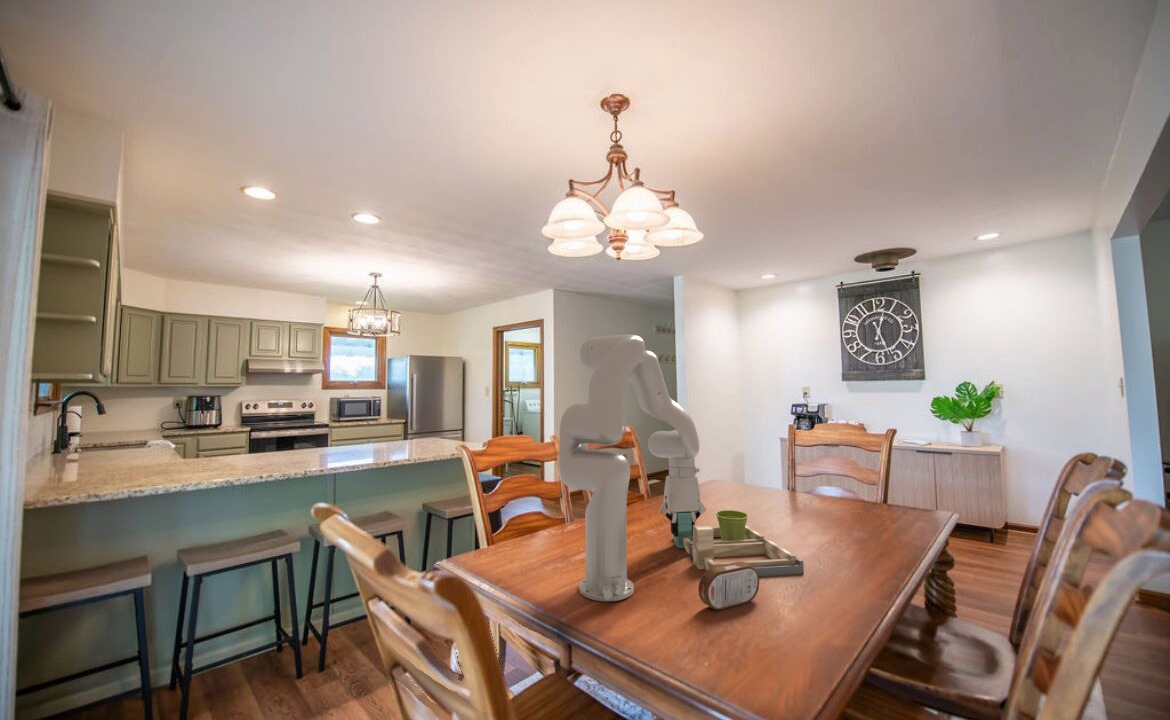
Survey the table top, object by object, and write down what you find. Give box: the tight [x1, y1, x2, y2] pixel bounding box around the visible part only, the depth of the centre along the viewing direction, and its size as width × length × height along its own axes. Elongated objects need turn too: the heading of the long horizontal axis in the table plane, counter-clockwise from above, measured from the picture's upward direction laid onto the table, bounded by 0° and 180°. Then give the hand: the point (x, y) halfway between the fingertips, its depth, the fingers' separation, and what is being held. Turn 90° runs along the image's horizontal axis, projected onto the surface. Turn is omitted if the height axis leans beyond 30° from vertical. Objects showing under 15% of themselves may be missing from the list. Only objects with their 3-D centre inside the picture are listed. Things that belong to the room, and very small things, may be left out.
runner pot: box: [672, 512, 765, 555], centre depth 142 cm, size 14×23×10 cm, turn 97°
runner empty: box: [691, 524, 797, 572], centre depth 126 cm, size 14×23×10 cm, turn 97°
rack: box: [690, 536, 805, 577], centre depth 133 cm, size 32×23×3 cm
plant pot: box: [714, 509, 749, 541], centre depth 142 cm, size 9×9×9 cm
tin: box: [697, 560, 760, 611], centre depth 102 cm, size 15×3×8 cm, turn 115°
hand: (682, 534), depth 140 cm, fingers closed on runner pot, 4 cm apart
